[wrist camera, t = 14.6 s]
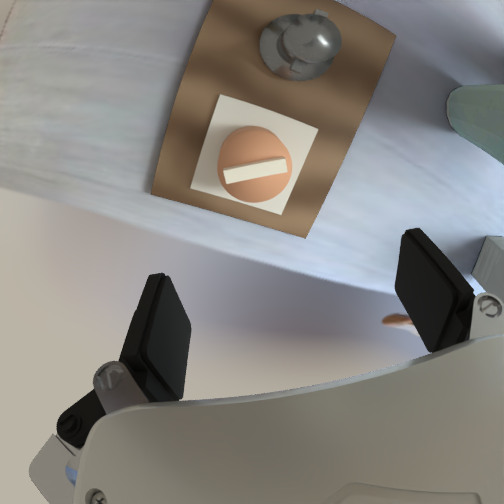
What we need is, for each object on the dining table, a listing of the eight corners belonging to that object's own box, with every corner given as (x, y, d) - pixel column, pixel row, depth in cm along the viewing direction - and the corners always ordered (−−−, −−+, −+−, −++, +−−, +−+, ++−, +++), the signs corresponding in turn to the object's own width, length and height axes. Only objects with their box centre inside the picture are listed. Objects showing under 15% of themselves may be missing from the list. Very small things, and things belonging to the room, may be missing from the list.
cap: (278, 120, 25) (287, 127, 21) (289, 181, 29) (298, 198, 25) (212, 133, 26) (208, 143, 22) (227, 193, 29) (226, 212, 25)
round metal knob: (273, 6, 19) (286, -17, 13) (340, 34, 21) (371, 23, 15) (248, 66, 23) (252, 59, 17) (316, 92, 24) (341, 95, 18)
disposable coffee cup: (424, 132, 27) (517, 177, 15) (440, 54, 21) (538, 65, 9) (476, 157, 29) (554, 205, 16) (492, 89, 23) (575, 117, 10)
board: (230, -32, 17) (230, -35, 16) (391, 36, 21) (396, 35, 20) (152, 191, 30) (150, 194, 29) (303, 234, 34) (305, 238, 33)
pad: (220, 94, 24) (220, 94, 24) (317, 128, 26) (318, 129, 26) (190, 186, 29) (190, 188, 29) (280, 213, 31) (281, 215, 31)
